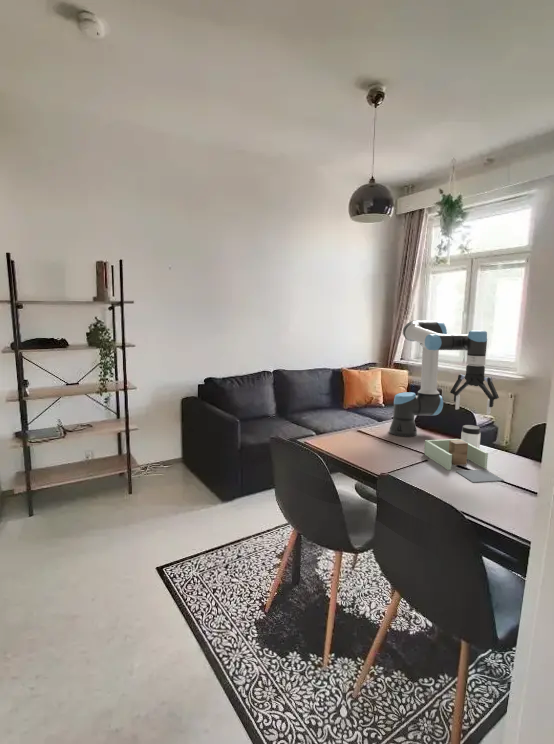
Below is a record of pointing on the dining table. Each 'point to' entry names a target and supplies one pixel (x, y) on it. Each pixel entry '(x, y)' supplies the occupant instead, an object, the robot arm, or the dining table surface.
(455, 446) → the block
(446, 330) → the robot arm
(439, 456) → the u-shaped enclosure
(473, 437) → the jar
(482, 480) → the mat
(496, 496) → the dining table surface
